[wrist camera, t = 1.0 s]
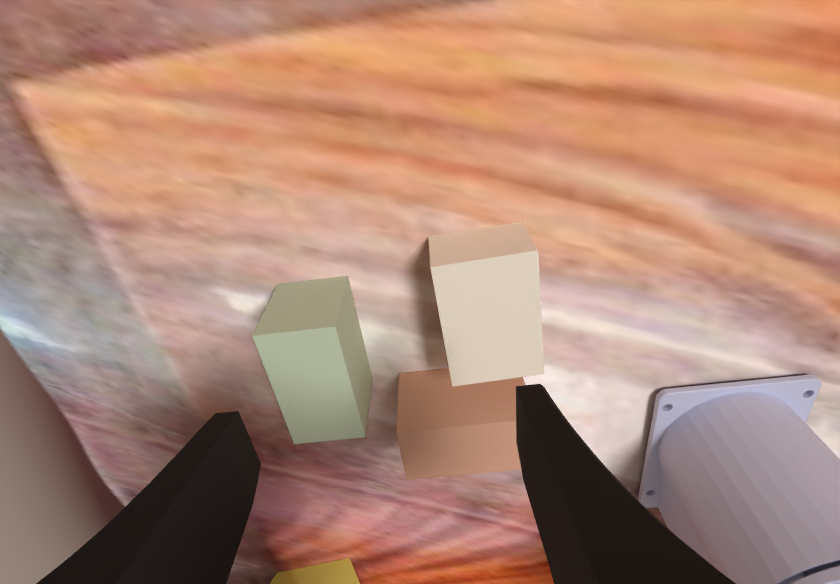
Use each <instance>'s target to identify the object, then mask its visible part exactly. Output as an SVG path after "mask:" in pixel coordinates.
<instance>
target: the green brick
mask: <svg viewBox="0 0 840 584" xmlns="http://www.w3.org/2000/svg"><path fill="white" fill-rule="evenodd" d="M252 337H253V339H254V342H255V345H256V347H257V350H258V352H259V355H260V357H261V360H262V363H263V365H264V368H265V370H266V373H267V375H268V378H269V381H270V383H271V386H272V388H273V391H274V394H275V396H276V399H277V401H278V404H279V406H280V409H281V412H282V414H283V417H284V419H285V422H286V425H287V427H288V430H289V432H290V435H291V437H292V440H293V443H294V444H302V443H313V442H323V441H333V440H344V439H354V438H364V437H365V436H366V427H367V419H368V410H369V401H370V393H371V384H372V375H371V371H370V366H369V362H368V358H367V354H366V350H365V345H364V341H363V337H362V333H361V329H360V324H359V320H358V316H357V312H356V308H355V303H354V299H353V295H352V291H351V286H350V282H349V278H348V276H342V277H333V278H325V279H316V280H308V281H299V282H290V283H282V284H277V286H276V288H275V291H274V293H273V295H272V297H271V299H270V301H269V303H268V305H267V307H266V309H265V311H264V313H263V315H262V317H261V319H260V321H259V323H258V325H257V327H256V329H255V331H254V333H253V335H252Z"/></svg>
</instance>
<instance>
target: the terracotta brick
mask: <svg viewBox="0 0 840 584" xmlns="http://www.w3.org/2000/svg"><path fill="white" fill-rule="evenodd" d="M524 385H525V383H524V380H523V377H518V378H511V379H504V380H497V381H490V382H482V383H475V384H468V385H461V386H454V387H452V382H451V377H450V371H449V368H446V369H436V370H426V371H417V372H407V373H399V386H398V409H397V437H398V442H399V446H400V451H401V455H402V460H403V465H404V469H405V474H406V478H407V480H410V479H421V478H432V477H443V476H454V475H465V474H476V473H487V472H498V471H509V470H520V469H521V464H520V459H519V454H518V448H517V443H516V386H524Z"/></svg>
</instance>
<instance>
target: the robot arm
mask: <svg viewBox="0 0 840 584" xmlns="http://www.w3.org/2000/svg"><path fill="white" fill-rule="evenodd" d="M820 386H821V381H820V380H819V379H818V378H817V377H816V376H814V375H800V376H790V377H780V378H770V379H760V380H750V381H740V382H730V383H719V384H709V385H699V386H689V387H679V388H669V389H663V390H661V391H660V392H659V393H658V394H657V395H656V399H655V405H654V410H653V416H652V422H651V427H650V433H649V439H648V444H647V450H646V456H645V461H644V467H643V473H642V478H641V484H640V490H639V495H638V500H637V499H636V498H635V497H634V496H633V495H632V494H631V493H630V492H629V491H628V490H627V489H626V488H625V487H624V486H623V485H622V484H621V483H620V482H619V481H618V480H617V479H616V477H615V476H614V475H613V474H612V473H611V472H610V471H609V470H608V469H607V468H606V467H605V466H604V464H603V463H602V462H601V461H600V460H599V459H598V458H597V456H596V455H595V454H594V453H593V452H592V451H591V449H590V448H589V447H588V446H587V445H586V443H585V442H584V441H583V440H582V439H581V437H580V436H579V435H578V434H577V432H576V431H575V430H574V429H573V427H572V426H571V425H570V423H569V422H568V421H567V419H566V418H565V417H564V415H563V414H562V413H561V411H560V410H559V409H558V407H557V406H556V404H555V403H554V401H553V400H552V398H551V397H550V395H549V394H548V392H547V391H546V389H545V387H543V386H542V385H541V384H535V385H524V386H516V443H517V448H518V454H519V459H520V464H521V469H522V474H523V480H524V483H525V487H526V490H527V493H528V497H529V500H530V503H531V507H532V510H533V513H534V517H535V520H536V523H537V527H538V530H539V533H540V537H541V540H542V543H543V546H544V550H545V553H546V556H547V560H548V563H549V566H550V570H551V573H552V577H553V581H554V584H840V459H839V458H838V457H837V456H836V455H835V454H834V453H833V452H832V451H831V450H830V449H829V448H828V447H827V445H826V444H825V443H824V442H823V441H822V440H821V439H820V438H819V437H818V436H817V435H816V434H815V433H814V432H813V430H812V429H811V428H810V427H809V426H808V425H807V424H806V423H805V422H806V420H807V418H808V415H809V413H810V410H811V408H812V405H813V403H814V401H815V398H816V396H817V393H818V391H819V389H820ZM666 404H667V405H666ZM664 405H665V406H664ZM260 466H261V463H260V460H259V458H258V456H257V453H256V451H255V449H254V446H253V444H252V442H251V439H250V437H249V435H248V433H247V430H246V428H245V426H244V423H243V421H242V419H241V416H240V414H239V412H238V411H236V412H225V413H216V414H215V415H214V416H213V417H212V418H211V419H210V420H209V421H208V422H207V423H206V424H205V425H204V426H203V427H202V428H201V429H200V430H199V431H198V432H197V433H196V434H195V436H194V437H193V438H192V439H191V440H190V441H189V442H188V443H187V444H186V445H185V446H184V447H183V449H182V450H181V451H180V452H179V453H178V454H177V455H176V456H175V457H174V458H173V459H172V460H171V461H170V462H169V463H168V464H167V465H166V467H165V468H164V469H163V470H162V471H161V472H160V473H159V474H158V475H157V476H156V477H155V478H154V479H153V480H152V481H151V482H150V483H149V484H148V485H147V486H146V487H145V488H144V489H143V490H142V491H141V492H140V493H139V494H138V495H137V496H136V497H135V498H134V499H133V500H132V501H131V502H130V503H129V504H128V505H127V506H126V507H125V508H124V509H123V510H122V511H121V512H120V513H119V514H118V515H117V516H116V517H115V518H114V519H112V520H111V521H110V522H109V523H108V524H107V525H106V526H105V527H104V528H103V529H102V530H101V531H99V532H98V533H97V534H96V535H95V536H94V537H93V538H92V539H90V540H89V541H88V542H87V543H86V544H85V545H83V546H82V547H81V548H80V549H79V550H78V551H76V552H75V553H74V554H73V555H72V556H71V557H70V558H68V559H67V560H66V561H64V562H63V563H62V564H61V565H60V566H58V567H57V568H56V569H54V570H53V571H52V572H51V573H50V574H48V575H47V576H46V577H44V578H43V579H42V580H40V581H39V582H38V583H37V584H226V582H227V579H228V576H229V573H230V570H231V568H232V565H233V562H234V559H235V556H236V553H237V550H238V547H239V544H240V541H241V538H242V535H243V532H244V529H245V526H246V523H247V520H248V517H249V514H250V511H251V508H252V504H253V501H254V496H255V491H256V487H257V482H258V476H259V471H260ZM653 507H658V509H659V511H660V513H661V515H662V517H663V519H664V521H665V524H666V526H667V527H666V526H665V525H664V524H663V523H662V522H660V521H659V520H658V519H657V518H656V517H655V516H654V515H653V514H652V513H651V512H650V511H649V510H648V509H646V508H653Z"/></svg>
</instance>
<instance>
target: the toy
mask: <svg viewBox="0 0 840 584" xmlns="http://www.w3.org/2000/svg"><path fill="white" fill-rule="evenodd" d="M270 584H360V582H359V580H358V577H357V575H356V572H355V570H354V567H353V565H352V562H351V560H350V558H347V559H342V560H337V561H332V562H327V563H322V564H317V565H312V566H307V567H303V568H298V569H293V570H288V571H283V572H278V573H277V574H276V575H275V577H274V578H273V580H272V581H271V583H270Z"/></svg>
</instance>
